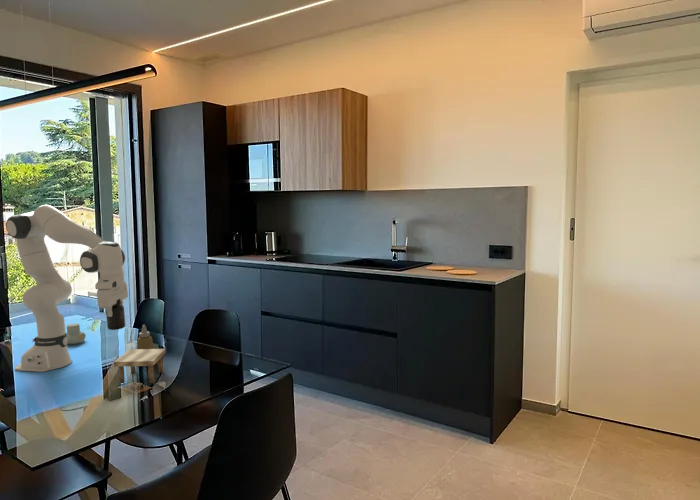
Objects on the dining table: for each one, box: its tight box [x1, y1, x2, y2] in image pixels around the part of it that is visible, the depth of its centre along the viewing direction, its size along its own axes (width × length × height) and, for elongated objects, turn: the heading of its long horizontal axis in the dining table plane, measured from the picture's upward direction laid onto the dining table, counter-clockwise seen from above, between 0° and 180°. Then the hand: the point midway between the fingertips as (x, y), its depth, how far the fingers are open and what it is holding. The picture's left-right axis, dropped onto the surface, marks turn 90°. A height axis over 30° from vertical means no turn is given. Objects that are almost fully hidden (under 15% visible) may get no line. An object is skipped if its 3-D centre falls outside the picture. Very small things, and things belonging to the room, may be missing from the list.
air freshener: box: [66, 322, 86, 345], centre depth 263 cm, size 11×8×10 cm
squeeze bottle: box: [136, 324, 155, 349], centre depth 232 cm, size 8×8×18 cm
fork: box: [154, 381, 167, 390], centre depth 201 cm, size 3×21×3 cm, turn 42°
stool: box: [113, 348, 167, 384], centre depth 214 cm, size 16×16×10 cm
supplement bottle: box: [105, 299, 126, 331], centre depth 206 cm, size 7×7×12 cm
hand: (115, 313), depth 206 cm, fingers closed on supplement bottle, 7 cm apart
